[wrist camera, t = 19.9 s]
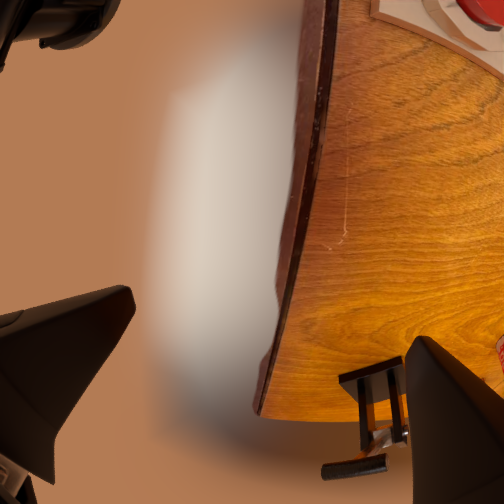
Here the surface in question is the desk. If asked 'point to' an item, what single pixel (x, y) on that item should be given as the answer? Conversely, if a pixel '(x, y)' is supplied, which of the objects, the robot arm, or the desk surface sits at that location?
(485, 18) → the button
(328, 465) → the lever
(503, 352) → the beverage cup
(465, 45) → the button block
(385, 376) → the bracket
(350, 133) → the desk surface
